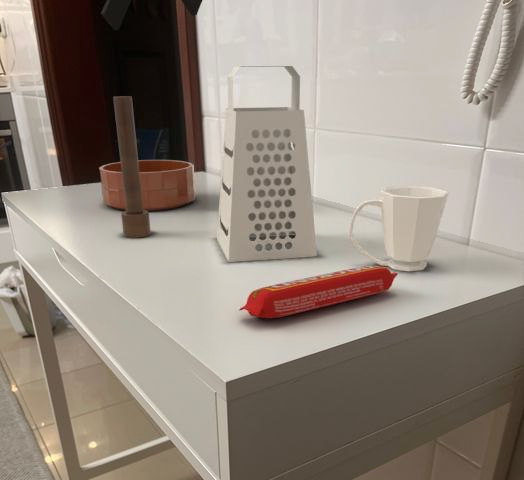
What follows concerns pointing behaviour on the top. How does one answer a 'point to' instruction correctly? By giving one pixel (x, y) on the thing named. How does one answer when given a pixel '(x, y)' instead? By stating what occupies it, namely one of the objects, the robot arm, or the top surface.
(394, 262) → the cup
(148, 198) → the bowl
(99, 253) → the top surface
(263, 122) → the grater
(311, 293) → the candy bar
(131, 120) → the wooden pestle
